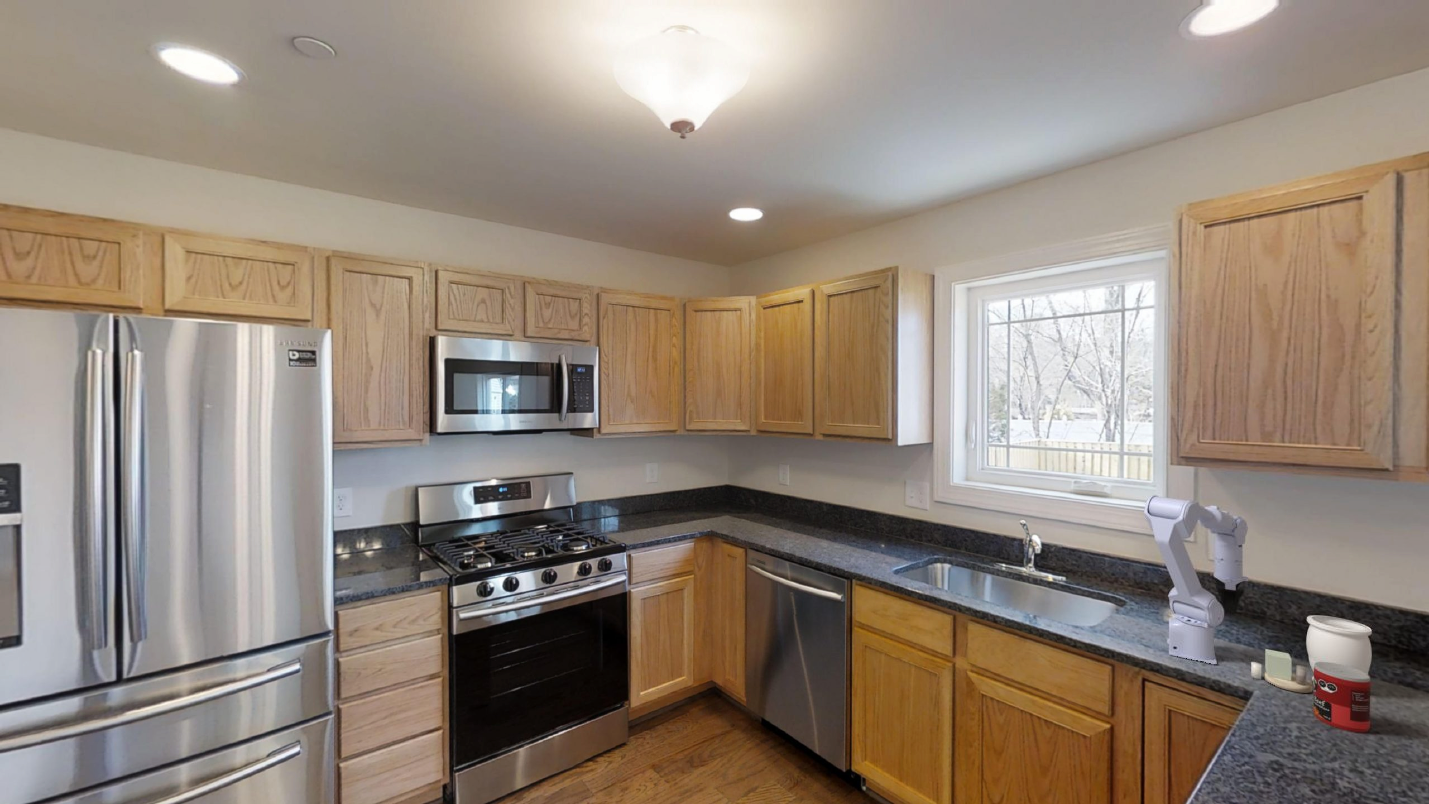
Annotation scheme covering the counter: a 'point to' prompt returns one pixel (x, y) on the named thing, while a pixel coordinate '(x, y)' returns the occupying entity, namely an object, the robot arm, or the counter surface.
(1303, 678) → the disc
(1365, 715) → the canned food
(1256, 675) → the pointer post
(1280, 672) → the link block
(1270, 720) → the counter surface
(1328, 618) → the jar
